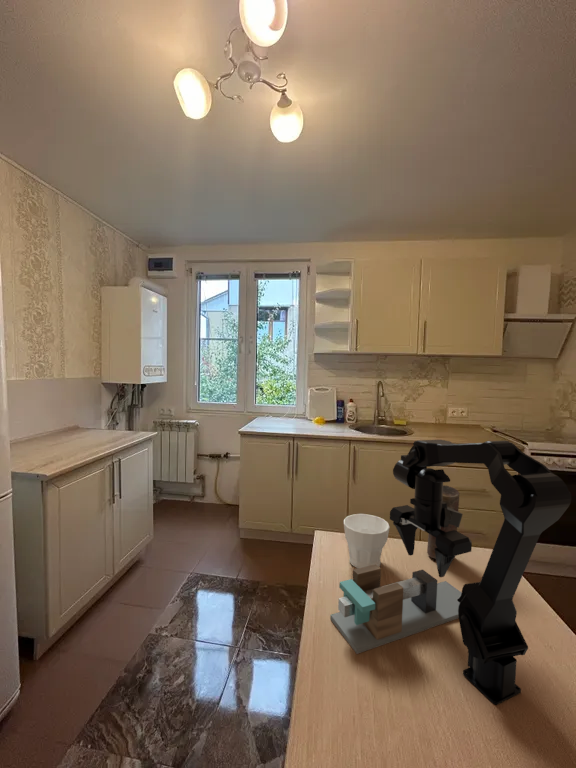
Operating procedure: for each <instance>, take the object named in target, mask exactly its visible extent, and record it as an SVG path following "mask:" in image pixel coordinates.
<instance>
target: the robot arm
mask: <svg viewBox="0 0 576 768" xmlns="http://www.w3.org/2000/svg"><path fill="white" fill-rule="evenodd" d="M412 444H413V445H412V446H411V448H410V449H409V451H408V453H407V454H402V455H400V460H398V461H397V462H396V463H395V464H394V467H393V468H392V474H393V477H394V478H395V479H396V480H397V481H398V482H400V483H402V484H403V485H404V486H407V487H408V488H410V489H412V490H414V497H413V498H410V500H409V503H410V504H411V505H413V507H412V506H410V505H408V504H406V505H399V506H396V507H395V506H394V507H392V508H391V510H390V511H389V520H391V521H392V524H393V526H394V527H395V528H396V530H397V532H398V533H399V536H400V538H401V540H402V543H403V546H404V547H405V550H406V552H407V554H408V556H411V557H412V556H413V555H414V553H415V546H416V545H415V543H416V532H417V530H418V529H419V530H421V531H423V532H425V533H427V534H428V535H429V534H431V535H432V536H434V537H436V542H435V544H436V546H437V548H435V549H434V550H435V556H436V559H435V561H436V568H437V573H438V576H439V578H444V577H445V576H446V574H447V572H448V570H449V567H450V566H451V564H452V562H453V560H455V558H456V556H459V555H464V554H468V553H471V552H472V540H471V539H470V538H469V537H468V536H467V535H465V534H463V533H461V532H459V531H458V530H457V531H455V530H453V531H449V532H444V531H442V530H440V529H441V527H444V528H445V527H448V524H451V525H454V526H456V527H457V528H460V525H461V521H462V519H463V515H464V514H463V513H461V512H460V511H459V510H458V511H456V510H453V509H451V508H449V507H447V503H445V502H443V501H442V498H443V485H444V483H450V482H451V478H450V477H449V475H448V474H447V473H446V472H445V471H444V469H434V468H431V467H445V466H448V465H449V466H450V465H454V464H455V463H456V464H484V466H485V467H486V468H487V471H488V474H489V480H490V483H491V485H492V486H493V487H494V488H495V490H497V492H498V494H500V500H499V505H500V509H501V511H502V512H501V513H502V515H503V517H504V520H503V522H502V525H501V527H500V530H499V532H498V536H497V538H496V541H495V544H494V545H493V548H492V551H491V554H490V557H489V558H488V562H487V563H486V567H485V570H484V573H483V575H482V577H481V580H480V581H476V582H470V583H465V584H464V585H463V587H462V588H461V592H462V593H461V596H460V598H459V599H457V601H458V602H460V604H459V607H458V616H459V618H458V620H459V628H460V634H461V638H462V644H463V645H464V646H465V647H466V649H467V653H468V655H467V666H468V668H465V669H463V670H462V675H463V676H464V677H465V678H466V679H467V680H468V681H469V682H470V683H471V684H472V685H473V686H474V687H475V688H476V689H477V690H478V691H479V692H481V694H482V695H484V696H485V697H486V698H487V700H489V701H490V702H491V703H492V704H493V705H495V706H496V705H497V706H498V705H500V704H501V703H504V702H506V701H507V700H509V699H511V698H514V697H515V696H518V695H519V694H521V692H522V689H521V687H520V686H519V685H518V684H517V683H516V676H517V675H516V674H517V660H518V659H516V658H515V657H518V656H525V654H526V653H527V652H528V649H529V646H528V644H527V641H526V639H525V638H524V636H523V633H522V631H521V629H520V627H519V625H518V623H517V620H516V618H517V614H518V613H517V612H518V611H517V608H516V606H515V603H514V601H513V598H514V596H515V594H516V591H517V589H518V586H519V585H520V583H521V580H522V577H523V575H524V573H525V571H526V569H527V566H528V564H529V561H530V559H531V557H532V555H533V552H534V550H535V548H536V545H537V543H538V542H539V538H540V536H541V534H542V533H543V532H545V530H547V529H548V528H550V527H551V526H553V525H554V524H555V523H556V522H558V521H559V520H560V518H562V516H563V515H564V513H565V512H566V511H567V509H568V508H569V507H570V505H571V502H572V493H571V492H570V491H569V488H568V486H567V484H566V482H565V481H564V480H563V479H562V478H561V477H560V476H558V475H557V474H555V473H553V472H552V471H551V470H550V469H549V468H548V467H547V466H546V465H545V464H543V463H541V462H540V461H538V460H536V459H535V458H533V457H531V456H530V455H528V454H526V453H524V452H523V451H522V450H521V449H520V448H519V447H518V446H517V445H516V444H514V443H513V442H510V441H509V440H487V441H484V442H476V443H475V442H474V443H469V442H468V443H453V442H452V441H450V440H445V439H427V440H426V439H420V440H415V441H413V443H412ZM505 465H507V467H509V468H510V469H512V470H513V471H514V472H516V473H518V474H513V475H511V473H510V472H509V471H508V470H507V469H506V468H505ZM454 557H455V558H454Z"/></svg>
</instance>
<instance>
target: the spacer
mask: <svg viewBox="0 0 576 768" xmlns="http://www.w3.org/2000/svg"><path fill="white" fill-rule="evenodd" d="M338 587H339V589H340V590H341V591H342V592H343V597H345V596H347V597H348V598H349V599H350V600H351V601H352V602H353V603H354V604H355V618H354V623H355V624H356V625H359V624H362V623H365V622H368V621H369V617H370V611H371V610H375V602H374V601H373V600H372V599H371V598H370V597H369V596H368V595H367V594H366V593H365V592H364V591H363V590H362V589H361V588H360V587H359V586H358V585H357V584H356V583H355V582H354V581H353V578H351V579H350V578H349V579H346V580H342V581H339V586H338Z"/></svg>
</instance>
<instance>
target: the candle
mask: <svg viewBox="0 0 576 768" xmlns="http://www.w3.org/2000/svg"><path fill="white" fill-rule="evenodd" d="M460 494H461V493H460V492H459V490H458V489H456V488H454V487H453V486H449V485H444V484H443V498H442V501H443V502H445V503H447V507H449V508H451V509H453V510H456V511H458V512H459V509H460V508H459V507H460V506H459V505H460ZM440 530H442V531H444V532H449V531H453V530H455V531H457V532H458V527H456V526H454V525H451V524H448V527H445V528H444V527H441V529H440ZM435 542H436V537H434V536H432V535H431V534H429V533H428V535H427V552H426V553H427V555H428V556H429V558H431V559H432V558H433V559H435V560H436V556H435V550H434V549H435V548H437V546H436V544H435ZM455 558H456V556H455V557H454V559H455Z"/></svg>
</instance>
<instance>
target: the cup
mask: <svg viewBox="0 0 576 768" xmlns="http://www.w3.org/2000/svg"><path fill="white" fill-rule="evenodd" d="M343 529H344V530H343V531H344V538H345V540H346V543H347V548H348V555H349V563H350V564H351V565H352V566H353V567H354V568H355V569H358V568H362V567H366V566H370V565H374V564H376V565H377V566H379V567H380V568H381V556H382V552H383V549H384V547H385V546H386V544H387V542H388V537H389V534H390V533H389V532H390V524H389V522H388V521H387V520H385V519H384V518H381V517H379V516H378V515H372V514H366V513H356V514H355V513H354V514H351V515H347V516H346V517H345V518H344V519H343Z"/></svg>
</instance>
